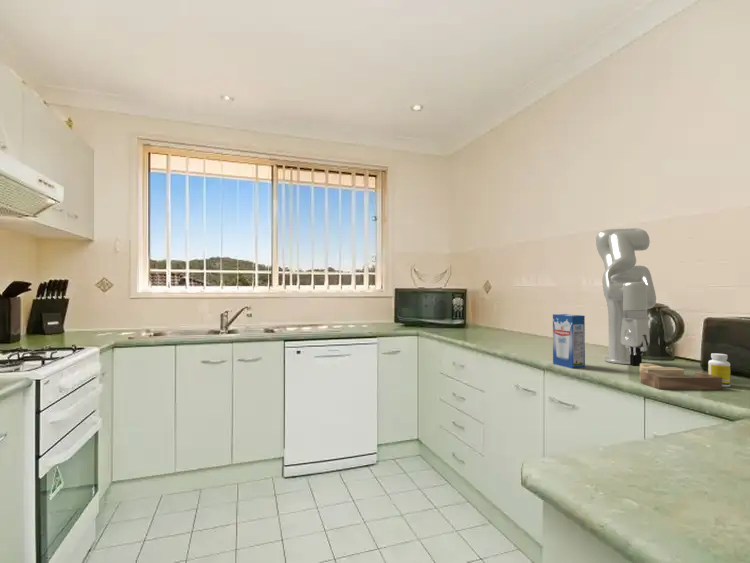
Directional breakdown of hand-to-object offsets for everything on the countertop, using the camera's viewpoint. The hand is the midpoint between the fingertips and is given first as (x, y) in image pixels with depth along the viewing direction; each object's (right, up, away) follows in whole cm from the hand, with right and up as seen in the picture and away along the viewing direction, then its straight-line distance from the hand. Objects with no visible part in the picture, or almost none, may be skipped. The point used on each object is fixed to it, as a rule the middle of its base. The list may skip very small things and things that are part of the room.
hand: (636, 365), depth 147 cm
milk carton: (-19, -3, +12) cm, 23 cm away
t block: (0, -2, -10) cm, 10 cm away
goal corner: (0, -2, -21) cm, 21 cm away
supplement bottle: (+13, -2, -20) cm, 24 cm away
